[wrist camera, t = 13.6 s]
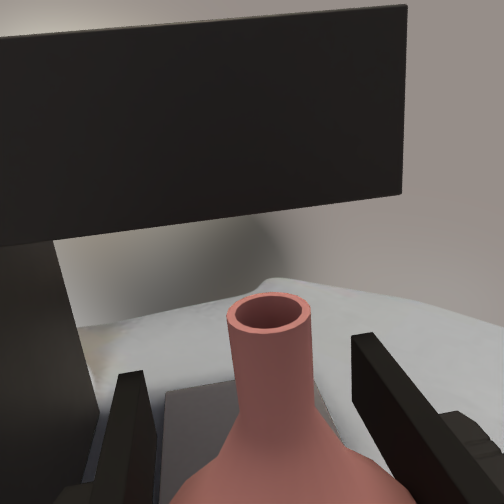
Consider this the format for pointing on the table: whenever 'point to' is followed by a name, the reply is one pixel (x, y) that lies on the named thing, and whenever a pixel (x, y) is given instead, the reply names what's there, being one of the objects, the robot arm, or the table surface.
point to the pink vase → (282, 422)
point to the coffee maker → (169, 189)
